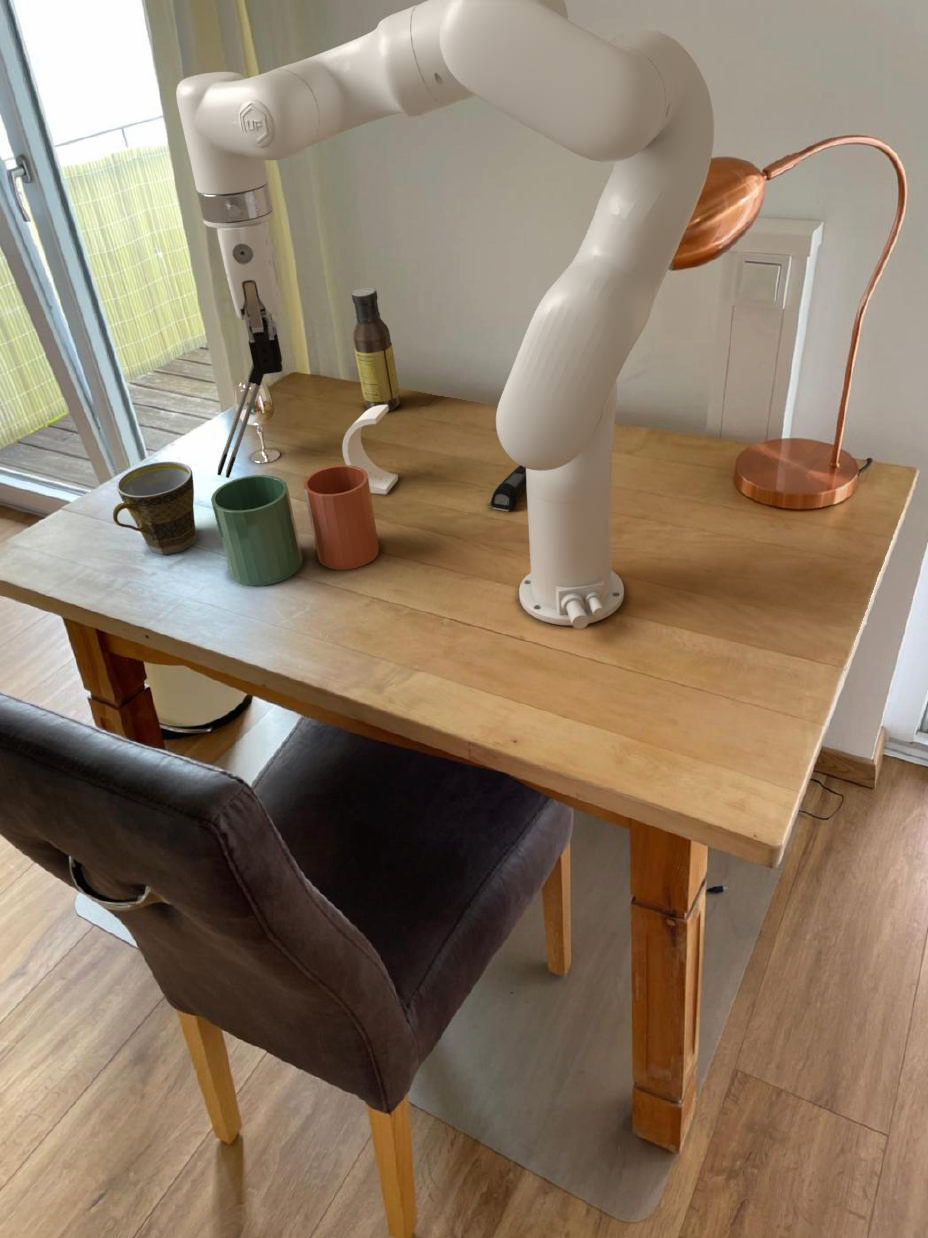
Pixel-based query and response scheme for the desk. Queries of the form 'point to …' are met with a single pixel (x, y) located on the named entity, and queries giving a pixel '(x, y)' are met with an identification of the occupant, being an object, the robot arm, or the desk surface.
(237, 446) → the tongs
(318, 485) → the terracotta cup
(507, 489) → the electric trimmer
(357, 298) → the sauce bottle
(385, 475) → the headphone stand
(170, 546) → the ceramic cup
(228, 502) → the green cup
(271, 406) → the wineglass
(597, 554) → the robot arm
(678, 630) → the desk surface
